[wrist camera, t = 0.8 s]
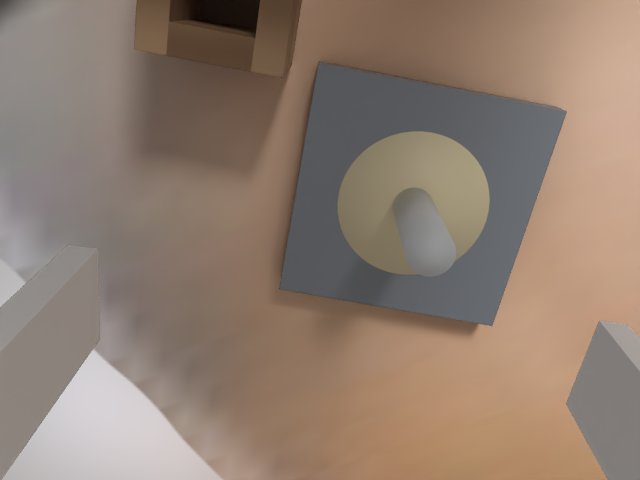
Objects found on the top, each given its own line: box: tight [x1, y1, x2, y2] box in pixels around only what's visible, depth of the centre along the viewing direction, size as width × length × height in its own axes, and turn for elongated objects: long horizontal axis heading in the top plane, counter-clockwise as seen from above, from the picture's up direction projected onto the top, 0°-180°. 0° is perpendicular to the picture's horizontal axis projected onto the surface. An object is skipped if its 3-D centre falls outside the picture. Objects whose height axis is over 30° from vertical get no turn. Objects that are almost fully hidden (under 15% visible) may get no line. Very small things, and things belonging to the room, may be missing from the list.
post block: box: [279, 61, 567, 326], centre depth 31 cm, size 14×14×8 cm
